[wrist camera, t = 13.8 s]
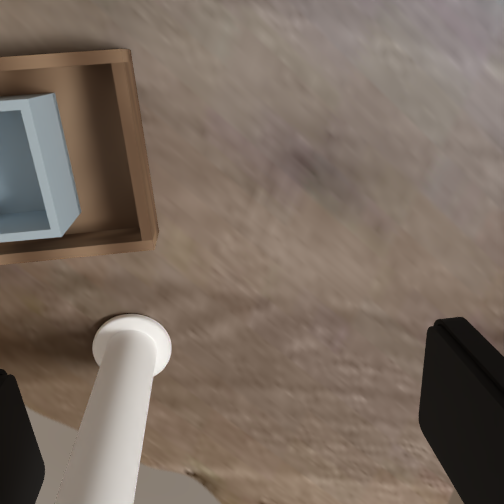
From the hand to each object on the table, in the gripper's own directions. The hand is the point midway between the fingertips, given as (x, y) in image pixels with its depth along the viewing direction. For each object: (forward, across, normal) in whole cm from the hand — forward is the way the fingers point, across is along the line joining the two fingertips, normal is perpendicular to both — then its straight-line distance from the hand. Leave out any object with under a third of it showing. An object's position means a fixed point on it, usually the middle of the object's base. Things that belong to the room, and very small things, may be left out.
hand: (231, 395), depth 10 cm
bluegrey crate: (+28, +14, -1) cm, 31 cm away
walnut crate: (+28, +14, -1) cm, 32 cm away
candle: (+28, +9, +17) cm, 34 cm away
